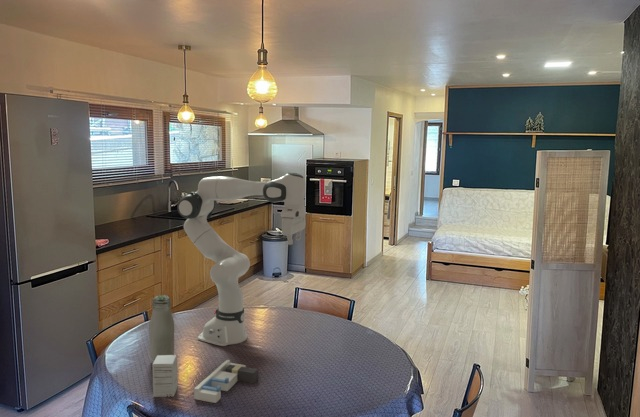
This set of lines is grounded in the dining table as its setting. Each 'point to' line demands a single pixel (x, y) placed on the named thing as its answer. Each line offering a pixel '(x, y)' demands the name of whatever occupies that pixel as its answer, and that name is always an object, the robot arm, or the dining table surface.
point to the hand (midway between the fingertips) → (294, 242)
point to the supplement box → (165, 375)
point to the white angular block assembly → (216, 383)
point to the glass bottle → (161, 327)
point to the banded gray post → (243, 373)
